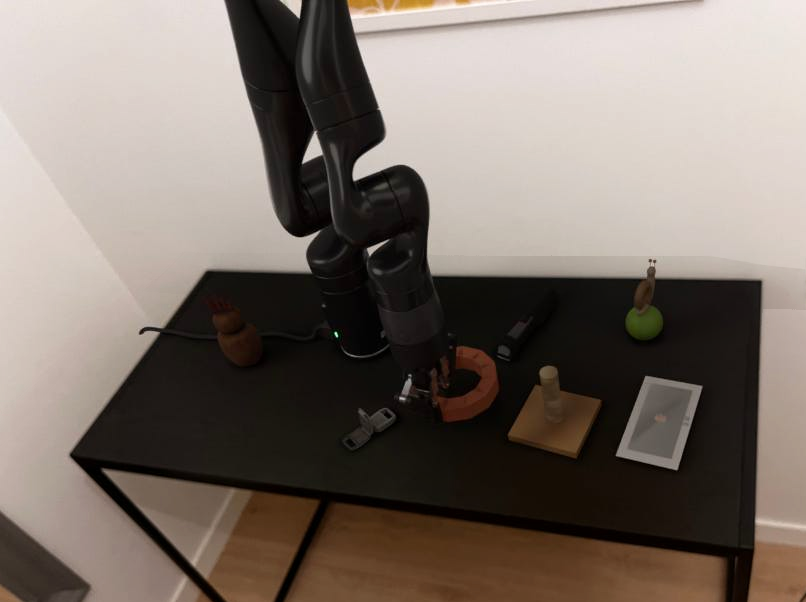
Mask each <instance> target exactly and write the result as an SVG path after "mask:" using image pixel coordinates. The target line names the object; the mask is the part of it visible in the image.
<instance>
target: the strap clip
mask: <svg viewBox="0 0 806 602" xmlns="http://www.w3.org/2000/svg"><path fill="white" fill-rule="evenodd" d="M386 413H388V414H389V415H390V416H391V417H390V418H388V417H387V416H386V415H385V414H386ZM357 414H358V418H359V422H360V425H361V426H359V427H358V428H355V429H354V430H353V431H351V432H350V433H348V434H347V435H346V436H345V437H343V439H341V441H342V443H343V444H344V446H345V447H347V448H348V449H349V450H350V451H355V450H357V449H359V448H361V447H362V446H363V445H364V444H366V443H367V442H368V441H370V440H371V436H372V435H373V434H374V432H375V433H381V432H382V431H383V430H385V429H387V428H388V427H390V426H391V425H393V424H394V422H395V421H396V420H397V416H396V414H395V413H394V412H393V411H392V410H390V409H389V408H388V407H383V408H381V409H378V411H376V412H375V413H373V414H372V415H371V416H369V415H368V414H367V413H366V412H365V411H364V410H363V409H362V408H361V407H359V408H357ZM348 440H351V441H352V443H354V444H355V445H354V446H350V445H349V443H347V441H348Z"/></svg>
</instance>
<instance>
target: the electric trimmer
mask: <svg viewBox="0 0 806 602" xmlns="http://www.w3.org/2000/svg"><path fill="white" fill-rule="evenodd" d="M557 301H558V295H557V291H556V288H555V287H548V288H547V290H546V291H544V293H543V294H542V295H541V296H540V297H539V298H538V299H537V300H536V301H535V302H534V303H533V304H532V305H531V306H530V308H528V310H527V311H525V313H523V314H522V315H521V316H520V317H519V318H518V319H517V320H516V321H515V322H514V323H513V324H512V325H511V326H510V327H509V329H507V331H505V333H503V335H502V336H501V337H500V338H499V340H498V342H497V345H496V346H495V349H494V352H495V355H496V357H498V358H500V359H502V360H505V361H508V362H510V361H512V360H514V359H516V357H517V356H518V352H519V348H520V346H521V345H523V343H524V342H525V341H526V339H527V338H528V337H529V336H530V335H531V333H532V332H533V331H534V329H535V328H538V327H541V326H542V325H543V324H544V322H545V321H546V319H547V318H548V316H549V314H551V312H552V310H553V309H554V306H555V305H556V303H557Z"/></svg>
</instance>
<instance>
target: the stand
mask: <svg viewBox="0 0 806 602" xmlns="http://www.w3.org/2000/svg"><path fill="white" fill-rule="evenodd" d="M558 370H559V369H558V368H556V366H553V365H546V366H543V367H542V368H540V370H539V380H540V385H538V384H535V385H534V387H533V388H532V390H531V392H530V394H529V396H528V398H527V399H526V401H525V403H524V404H523V406H522V408H521V410H520V411H519V414H518V415H517V418H516V419H515V421H514V423H513V425H512V426H511V428H510V430H509V432H508V434H507V437H508V441H511V442H515V443H517V444H521V445H525V446H528V447H531V448H532V447H533V448H536V449H540V450H543V451H548V452H551V453H553V454H554V453H555V454H559V455H562V456H564V457H565V456H566V457H568V458H573V459H578V457H579V455H580V453H581V451H582V448H583V446H584V444H585V442H586V440H587V438H588V436H589V434H590V431H591V429H592V427H593V425H594V423H595V420H596V419H597V416H598V415H599V412H600V410H601V408H602V399H599V398H595V397H590V396H587V395H582V394H577V393H573V392H568V391H564V390H561V387H560V377H559V371H558Z"/></svg>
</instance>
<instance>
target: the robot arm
mask: <svg viewBox="0 0 806 602" xmlns="http://www.w3.org/2000/svg"><path fill="white" fill-rule="evenodd" d="M223 3H224V6H225V10H226V14H227V19H228V24H229V26H230V31H231V34H232V39H233V43H234V48H235V54H236V58H237V61H238V66H239V71H240V74H241V77H242V82H243V86H244V89H245V93H246V97H247V99H248V100H247V101H248V103H249V106H250V108H251V113H252V116H253V119H254V123H255V127H256V130H257V134H258V138H259V142H260V146H261V151H262V156H263V163H264V169H265V170H264V171H265V177H266V182H267V190H268V195H269V198H270V202H271V206H272V209H273V211H274V214H275V216H276V218H277V220H278V222H279V223H280V225H281V227H282V228H283V229H284V230H285V231H286V232H287V233H288V234H289V235H291V236H292V237H295V238H306V237H309V236H311V235H314V234H316V235H315V236H314V237H313V239H312V240H311V241H310V242H309V244H308V246H307V248H306V250H305V258H306V262H307V265H308V267H309V269H310V272H311V275H312V277H313V280H314V281H315V284H316V286H317V288H318V291H319V295H320V296H321V299H322V301H323V302H322V303H321V311H322V312H323V316H324V317H325V321H324V322H323V323H320V324H318V325H316V326H315V327H314V328H313V331H312V334H311V335H309V336H299V335H295V334H291V333H286V332H283V331H282V332H281V331H263V332H259V334H260V336H261V338H266V337H267V338H268V337H269V338H270V337H278V338H279V337H280V338H284V339H285V338H286V339H289V340H292V341H299V342H312V341H313V340H314V341H315V340H316V339H317V338H318V334H319V331H320V330H321V331H322V334H323V336H324V339H327V340H332V341H335V344H336V346H337V349H339V350H342V353H343V354H344V355H345V356H346V357H347V358H348V359H351V360H354V361H368V360H373V359H375V358H377V357H380V356H381V355H384V354H386V353H387V352H388V351H389V350H390V352H391V355H392V357H393V359H394V360H395V361H396V362H397V364H398V366H399V367H401V370H402V375H401V376H402V381H403V382H404V385H403V388H402V390H401V392H399V391H397V392H396V393H395V394H394V396H393V401H394V402H395V403H397V404H399V405H400V406H403V407H405V408H406V409H409V410H411V411H413V412H419V413H421V414H424V416H425V419H426V420H427V421H429V422H432V423H436V424H437V423H438V424H442V420H443V416H442V412H441V408H440V404H439V402H438V399H437V396H439V397H442V398H446V399H448V398H452V396H451V393H450V389H449V388H450V386H451V381H450V378H453V377H454V376H455V374H456V369H455V367H456V352H457V347H458V335H457V334H453V333H449V332H448V327H447V323H446V320H445V316H444V312H443V306H442V304H441V300H440V297H439V294H438V292H437V290H436V288H435V284H434V280H433V276H432V273H431V268H430V264H429V259H428V246H429V245H428V243H429V242H428V241H429V230H430V229H429V228H430V220H431V219H430V218H431V203H430V201H431V200H430V196H429V195H430V194H429V191H428V188H427V185H426V183H425V181H424V179H423V177H422V176H421V174H419V172H418V171H417V170H416V169H414V168H413V167H410V165H406V164H395V165H391V166H388V167H386V168H383V169H381V170H379V171H376V172H373V173H371V174H367V175H366V176H363V177H360V178H358V179H355V180H354V170H355V165H356V163H357V162H358V160H360V158H362V157H363V156H364V155H365V154H367V153H368V152H369V151H371V150H373V149H375V148H376V147H377V146H379V145H380V144H381V143H382V142H384V140H385V139H386V137H387V131H388V130H387V126H386V122H385V120H384V116H383V113H382V111H381V109H380V105H379V103H378V100H377V97H376V94H375V91H374V89H373V85H372V83H371V78H370V77H369V74H368V71H367V68H366V66H365V62H364V60H363V57H362V53H361V51H360V47H359V44H358V40H357V36H356V33H355V29H354V25H353V21H352V16H351V13H350V7H349V3H348V0H301V4H300V11H299V16H298V15H296V14H295V13H294V12H293V11H292V10H291V8H289V7H288V6H287V5H286V4H285V3H284V2H282V1H281V0H223ZM314 135H316V137H317V140H318V143H319V146H320V149H321V152H322V154H320V155H317V156H315V157H313V158H311V159H309V160H307V161H305V162H304V158H305V155H306V153H307V150H308V149H309V146H310V144H311V141H312V139H313V137H314ZM381 243H383V244H381ZM379 244H381V245H380V246H379V247H377V248H376V249H375V250H374V251H373V252H372V253H371V254H369V250H368V249H369V248H372V247H375V246H377V245H379ZM146 332H155V333H161V334H171V335H175V336H176V335H177V336H180V337H184V338H189V339H196V340H211V341H212V340H213V341H218V338H217V336H218V334H214V335H213V334H199V333H190V332H185V331H182V330H176V329H171V328H161V327H157V326H156V327H155V326H144V327H142V328H141V329H140V330H139V331H138V335H140V336H141V335H143V334H144V333H146ZM446 359H447V360H448V361H449V366H448V367H447V364H446ZM425 395H427V396H425Z"/></svg>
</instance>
